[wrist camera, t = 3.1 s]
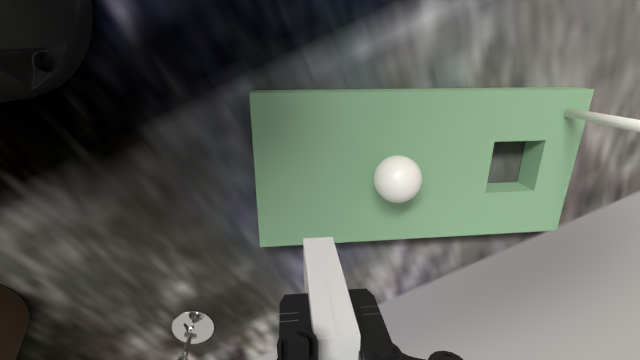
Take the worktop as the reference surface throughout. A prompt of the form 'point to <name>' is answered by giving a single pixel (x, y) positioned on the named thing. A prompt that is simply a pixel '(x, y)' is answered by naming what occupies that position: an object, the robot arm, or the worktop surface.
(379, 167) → the ball
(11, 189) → the worktop surface
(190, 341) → the wineglass
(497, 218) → the putting deck
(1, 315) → the plant pot
